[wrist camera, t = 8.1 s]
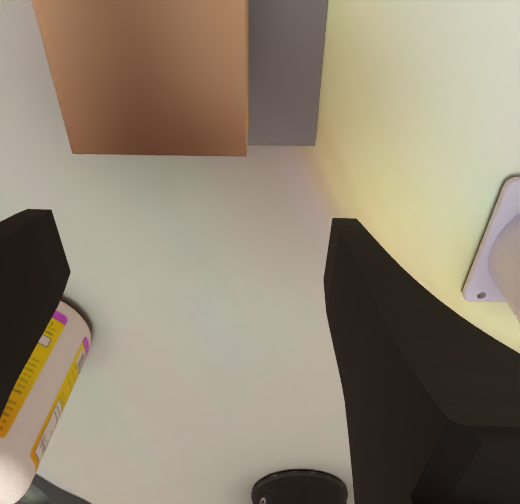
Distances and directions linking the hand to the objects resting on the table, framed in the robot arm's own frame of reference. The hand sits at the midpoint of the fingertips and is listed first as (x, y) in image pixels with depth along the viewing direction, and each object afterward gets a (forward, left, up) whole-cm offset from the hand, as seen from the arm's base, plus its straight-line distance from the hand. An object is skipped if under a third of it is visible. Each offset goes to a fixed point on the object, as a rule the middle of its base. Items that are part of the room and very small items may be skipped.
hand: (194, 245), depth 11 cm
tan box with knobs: (+1, -4, -10) cm, 11 cm away
